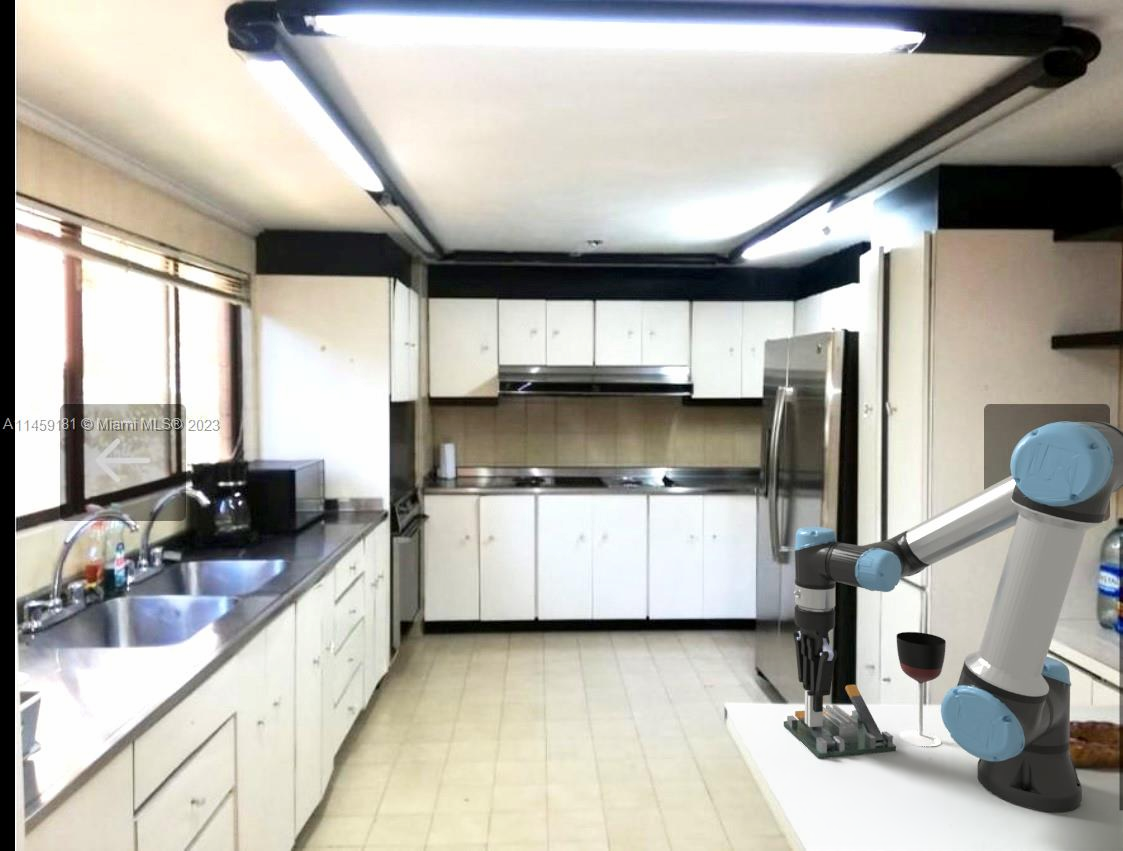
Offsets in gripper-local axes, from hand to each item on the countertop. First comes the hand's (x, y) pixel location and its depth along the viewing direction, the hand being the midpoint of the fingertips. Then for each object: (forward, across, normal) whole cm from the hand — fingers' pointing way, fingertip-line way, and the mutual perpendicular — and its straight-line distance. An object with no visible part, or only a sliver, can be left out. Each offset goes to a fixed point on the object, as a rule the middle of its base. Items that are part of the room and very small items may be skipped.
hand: (813, 724), depth 142 cm
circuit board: (+3, 0, +5) cm, 6 cm away
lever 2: (-2, +1, +10) cm, 10 cm away
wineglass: (+3, +3, +21) cm, 22 cm away
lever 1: (+1, 0, 0) cm, 1 cm away
